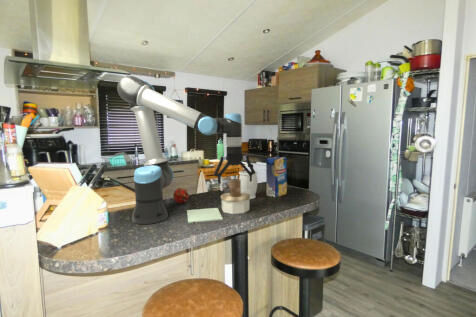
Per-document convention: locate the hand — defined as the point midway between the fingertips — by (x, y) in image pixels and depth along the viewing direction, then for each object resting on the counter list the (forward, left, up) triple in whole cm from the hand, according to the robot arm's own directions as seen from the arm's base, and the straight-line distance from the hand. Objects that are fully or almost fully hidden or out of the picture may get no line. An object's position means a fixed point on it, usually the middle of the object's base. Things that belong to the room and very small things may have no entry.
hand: (235, 189), depth 133 cm
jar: (+12, +21, -10) cm, 26 cm away
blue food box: (+30, +23, -10) cm, 39 cm away
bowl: (0, 0, -10) cm, 10 cm away
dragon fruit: (-26, +21, -10) cm, 35 cm away
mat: (-16, -5, -10) cm, 20 cm away
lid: (0, 0, -4) cm, 4 cm away
